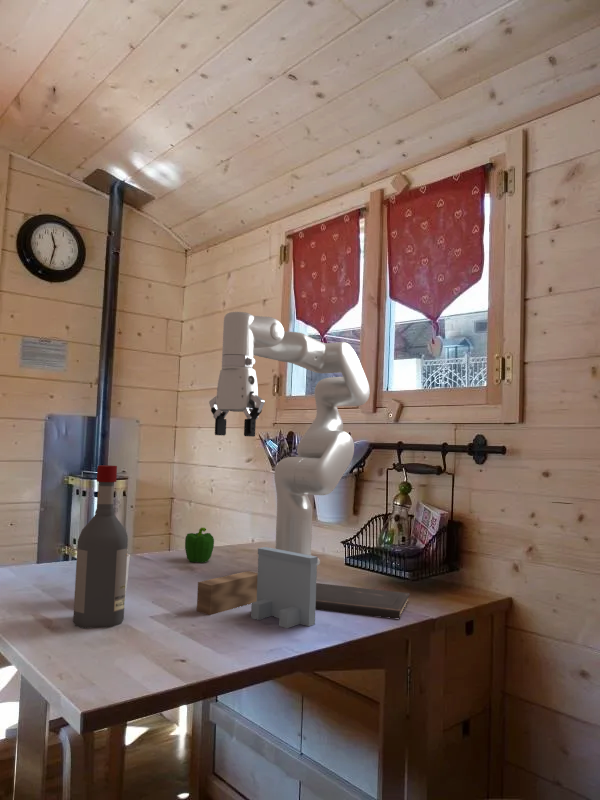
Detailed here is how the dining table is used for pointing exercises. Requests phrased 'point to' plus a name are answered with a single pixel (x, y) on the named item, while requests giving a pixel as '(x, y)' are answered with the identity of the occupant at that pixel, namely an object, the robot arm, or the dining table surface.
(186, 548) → the bell pepper
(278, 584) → the panel
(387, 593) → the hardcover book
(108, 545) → the liquor
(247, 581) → the brown wooden block
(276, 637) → the dining table surface
